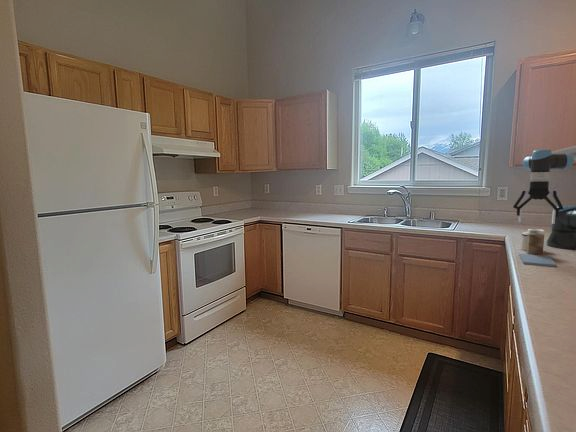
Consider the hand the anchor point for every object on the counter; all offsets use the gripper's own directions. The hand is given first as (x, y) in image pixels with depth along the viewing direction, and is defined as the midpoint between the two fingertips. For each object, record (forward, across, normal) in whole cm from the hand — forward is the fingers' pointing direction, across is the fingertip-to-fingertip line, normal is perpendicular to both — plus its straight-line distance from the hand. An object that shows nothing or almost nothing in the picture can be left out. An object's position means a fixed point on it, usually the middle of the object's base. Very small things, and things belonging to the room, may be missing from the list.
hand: (536, 222), depth 164 cm
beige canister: (+17, 0, 0) cm, 17 cm away
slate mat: (+17, -1, -14) cm, 22 cm away
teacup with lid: (+17, 0, +13) cm, 21 cm away
